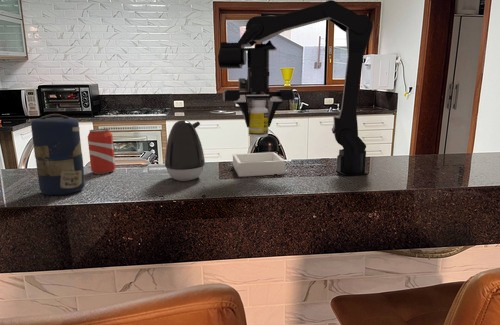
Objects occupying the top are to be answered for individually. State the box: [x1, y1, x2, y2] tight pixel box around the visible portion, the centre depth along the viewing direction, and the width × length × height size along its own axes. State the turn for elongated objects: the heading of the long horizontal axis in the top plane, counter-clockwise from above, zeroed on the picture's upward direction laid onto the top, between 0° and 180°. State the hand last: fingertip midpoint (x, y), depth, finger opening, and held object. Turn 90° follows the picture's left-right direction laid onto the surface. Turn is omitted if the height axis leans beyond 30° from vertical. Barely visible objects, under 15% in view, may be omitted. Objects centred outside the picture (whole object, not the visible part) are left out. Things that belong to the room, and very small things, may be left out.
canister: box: [30, 113, 86, 196], centre depth 82 cm, size 10×10×18 cm
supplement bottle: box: [248, 99, 269, 138], centre depth 99 cm, size 5×5×10 cm
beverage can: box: [87, 128, 116, 175], centre depth 101 cm, size 6×6×12 cm
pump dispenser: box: [164, 119, 206, 182], centre depth 93 cm, size 10×10×15 cm
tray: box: [232, 151, 286, 177], centre depth 102 cm, size 13×13×4 cm
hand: (258, 127), depth 99 cm, fingers closed on supplement bottle, 5 cm apart
